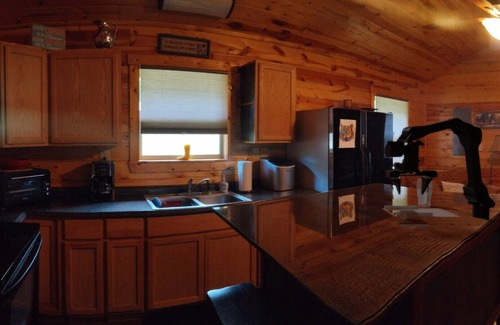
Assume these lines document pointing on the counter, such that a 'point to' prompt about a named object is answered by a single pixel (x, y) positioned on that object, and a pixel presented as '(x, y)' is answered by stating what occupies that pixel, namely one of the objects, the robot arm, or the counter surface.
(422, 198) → the beer glass
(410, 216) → the walnut block
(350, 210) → the counter surface
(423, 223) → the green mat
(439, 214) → the board
